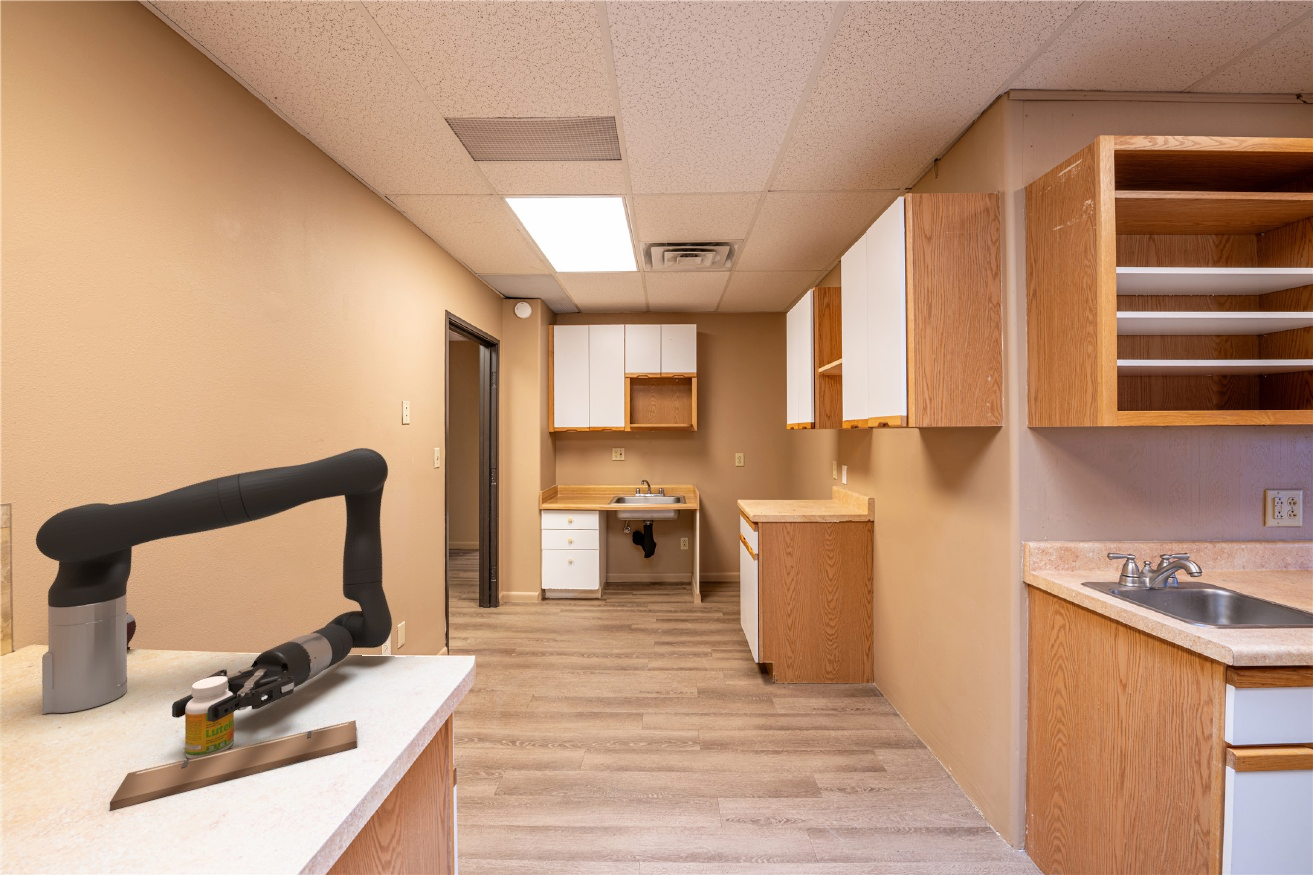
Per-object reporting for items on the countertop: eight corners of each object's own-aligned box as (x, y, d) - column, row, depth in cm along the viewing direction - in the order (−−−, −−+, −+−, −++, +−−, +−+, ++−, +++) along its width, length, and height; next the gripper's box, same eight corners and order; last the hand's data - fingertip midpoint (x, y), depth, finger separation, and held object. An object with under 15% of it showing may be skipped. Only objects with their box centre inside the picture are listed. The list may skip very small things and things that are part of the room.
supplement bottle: (205, 762, 74) (205, 692, 74) (175, 757, 76) (174, 688, 76) (243, 741, 80) (243, 675, 80) (213, 736, 81) (213, 672, 81)
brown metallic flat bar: (109, 810, 65) (109, 801, 65) (128, 780, 71) (128, 772, 71) (356, 747, 78) (356, 739, 78) (355, 726, 84) (355, 719, 84)
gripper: (257, 637, 93) (149, 681, 76) (331, 643, 91) (235, 690, 74) (257, 681, 93) (149, 734, 76) (330, 688, 91) (235, 745, 74)
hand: (192, 712), depth 75 cm, fingers closed on supplement bottle, 5 cm apart
